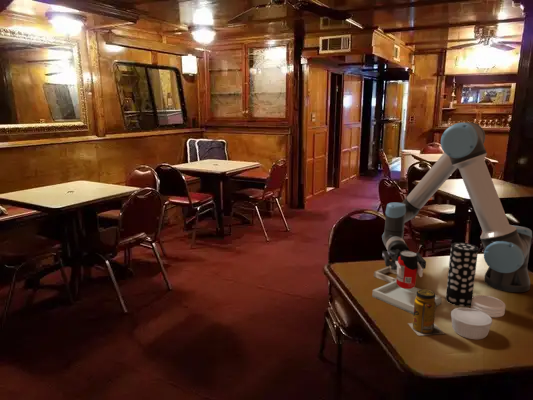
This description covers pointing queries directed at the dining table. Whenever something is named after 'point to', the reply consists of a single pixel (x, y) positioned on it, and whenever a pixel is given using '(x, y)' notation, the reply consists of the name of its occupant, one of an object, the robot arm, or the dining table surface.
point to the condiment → (425, 314)
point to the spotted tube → (461, 274)
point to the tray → (399, 296)
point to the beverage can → (407, 269)
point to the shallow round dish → (488, 305)
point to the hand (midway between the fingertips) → (410, 272)
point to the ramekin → (471, 323)
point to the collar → (386, 278)
